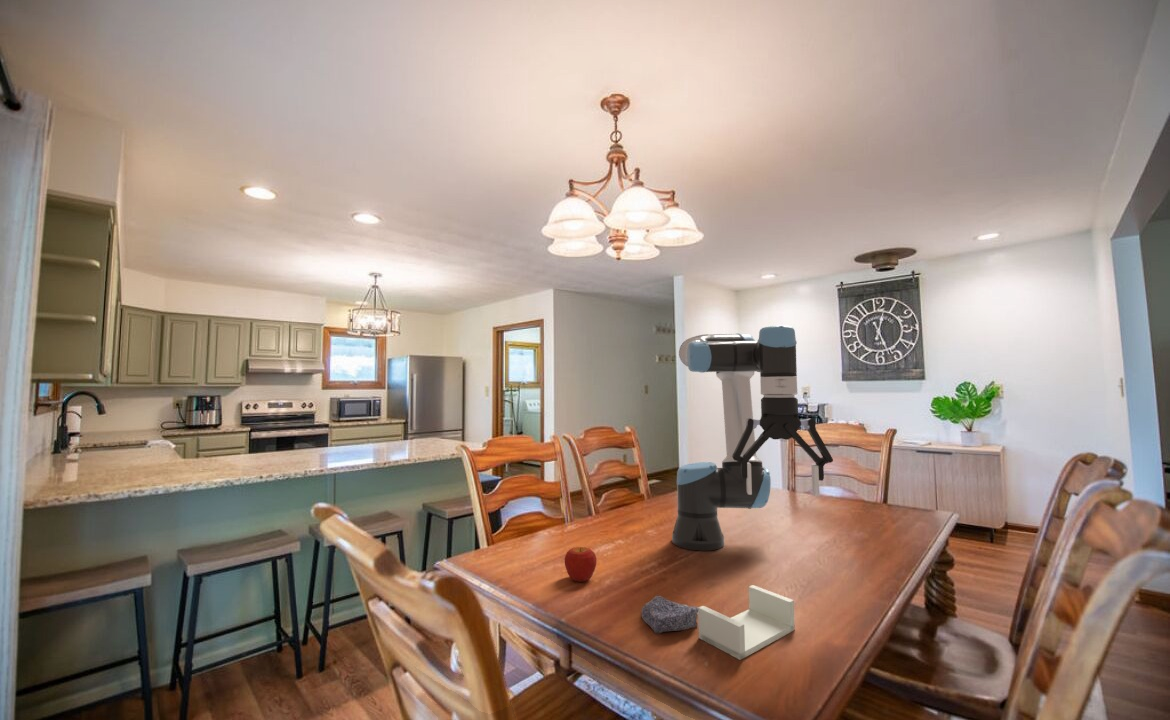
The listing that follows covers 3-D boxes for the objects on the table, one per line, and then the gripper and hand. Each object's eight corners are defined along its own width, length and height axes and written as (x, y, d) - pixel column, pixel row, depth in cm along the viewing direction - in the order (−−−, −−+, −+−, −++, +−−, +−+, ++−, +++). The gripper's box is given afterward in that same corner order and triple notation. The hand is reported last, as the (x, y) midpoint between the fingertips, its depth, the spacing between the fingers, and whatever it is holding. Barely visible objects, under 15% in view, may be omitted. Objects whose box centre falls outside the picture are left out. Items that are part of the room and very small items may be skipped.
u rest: (698, 638, 89) (698, 607, 89) (753, 612, 99) (752, 584, 99) (740, 660, 81) (739, 626, 82) (794, 629, 91) (793, 600, 92)
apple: (600, 575, 119) (600, 543, 119) (590, 588, 111) (590, 553, 112) (571, 571, 121) (571, 540, 122) (559, 583, 114) (559, 550, 114)
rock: (704, 603, 93) (668, 611, 88) (704, 633, 92) (667, 642, 87) (661, 586, 103) (626, 592, 97) (660, 613, 102) (624, 621, 96)
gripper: (721, 396, 104) (723, 495, 103) (846, 396, 99) (850, 500, 97) (719, 396, 111) (721, 488, 110) (835, 396, 106) (839, 493, 105)
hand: (782, 494), depth 104 cm, fingers open, 13 cm apart
